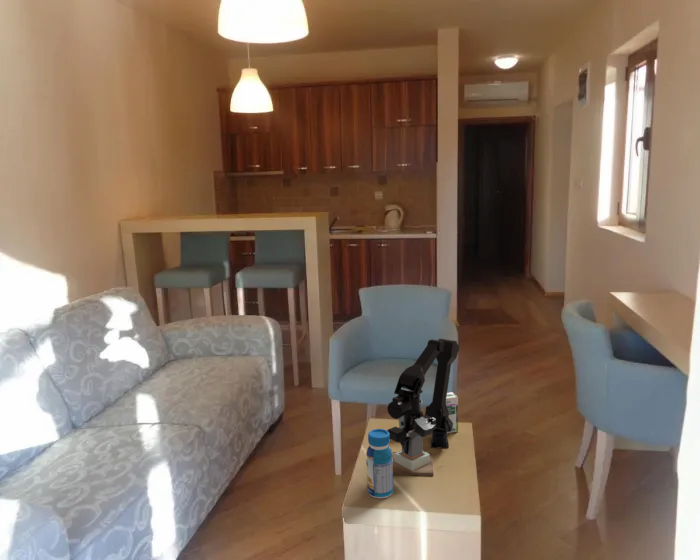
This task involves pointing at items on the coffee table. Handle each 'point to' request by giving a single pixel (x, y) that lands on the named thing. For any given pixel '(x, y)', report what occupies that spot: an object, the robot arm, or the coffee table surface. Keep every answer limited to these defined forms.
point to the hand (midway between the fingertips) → (412, 451)
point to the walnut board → (421, 470)
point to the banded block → (414, 446)
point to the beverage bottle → (379, 464)
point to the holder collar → (412, 463)
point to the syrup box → (452, 410)
